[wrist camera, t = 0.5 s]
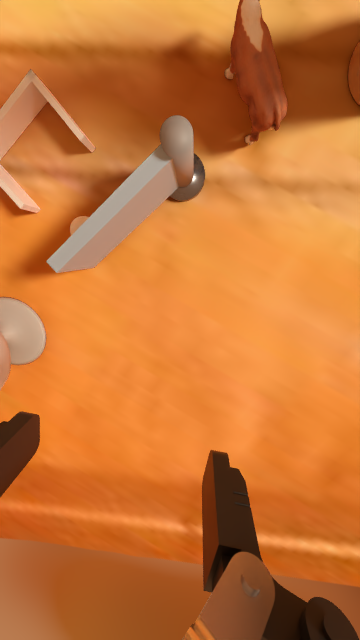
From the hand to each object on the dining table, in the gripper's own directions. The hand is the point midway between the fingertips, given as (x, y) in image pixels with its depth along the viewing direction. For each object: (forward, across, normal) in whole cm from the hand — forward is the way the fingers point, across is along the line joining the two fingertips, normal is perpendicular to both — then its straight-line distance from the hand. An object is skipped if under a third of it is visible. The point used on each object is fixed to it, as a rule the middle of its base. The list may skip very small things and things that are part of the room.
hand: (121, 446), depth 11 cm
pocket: (+28, +22, -18) cm, 40 cm away
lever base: (+28, +2, -18) cm, 34 cm away
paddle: (+27, +8, -12) cm, 30 cm away
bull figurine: (+29, -4, -29) cm, 41 cm away
